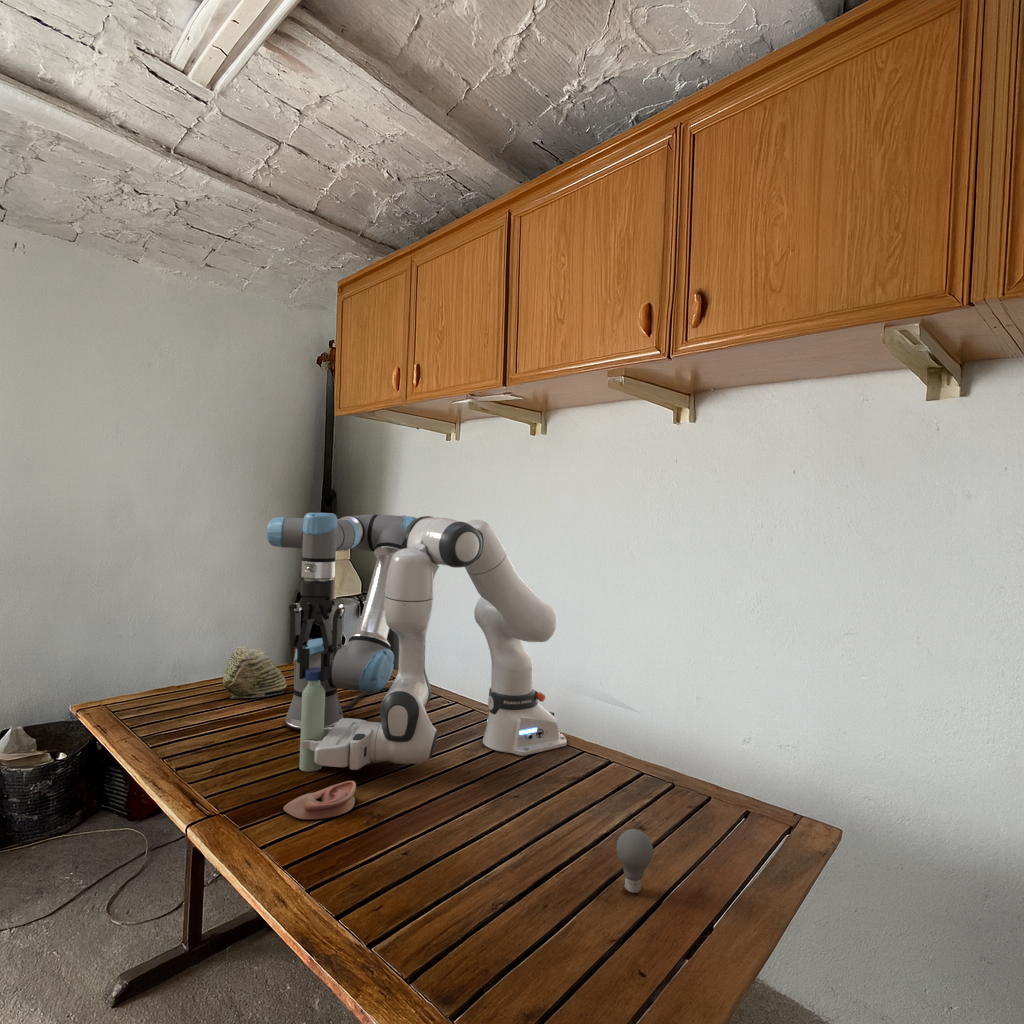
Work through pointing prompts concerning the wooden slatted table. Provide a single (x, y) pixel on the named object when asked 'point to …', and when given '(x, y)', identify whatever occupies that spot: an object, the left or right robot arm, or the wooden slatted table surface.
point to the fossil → (252, 674)
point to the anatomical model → (323, 802)
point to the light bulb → (634, 857)
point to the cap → (312, 674)
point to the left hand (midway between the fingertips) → (314, 678)
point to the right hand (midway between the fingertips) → (308, 738)
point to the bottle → (311, 722)
